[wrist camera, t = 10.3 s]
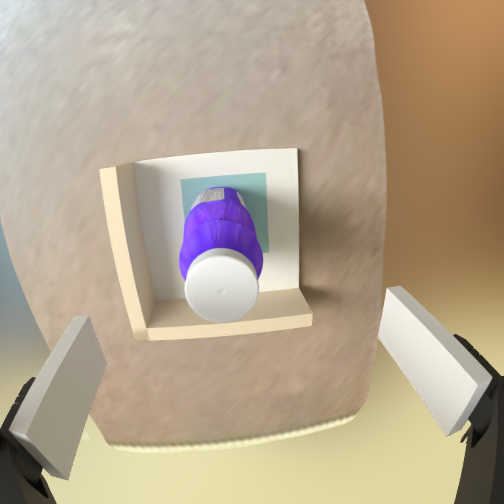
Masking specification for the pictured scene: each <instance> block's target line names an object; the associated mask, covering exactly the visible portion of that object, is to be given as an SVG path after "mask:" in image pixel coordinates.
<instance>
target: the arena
mask: <svg viewBox="0 0 504 504" xmlns="http://www.w3.org/2000/svg"><path fill="white" fill-rule="evenodd" d="M100 177H101V185H102V192H103V199H104V206H105V212H106V218H107V224H108V230H109V235H110V240H111V245H112V250H113V255H114V260H115V264H116V269H117V273H118V277H119V282H120V286H121V290H122V294H123V298H124V301H125V305H126V309H127V312H128V316H129V319H130V323H131V326H132V330H133V333H134V336H135V340H136V341H149V340H172V339H190V338H204V337H217V336H229V335H239V334H249V333H259V332H268V331H276V330H284V329H292V328H299V327H306V326H312V314H313V313H312V311H311V309H310V308H309V306H308V304H307V302H306V300H305V298H304V296H303V295H302V293H301V291H300V289H299V196H298V159H297V148H282V149H257V150H239V151H225V152H213V153H202V154H192V155H183V156H174V157H166V158H158V159H151V160H144V161H137V162H131V163H124V164H120V165H115V166H111V167H107V168H103V169H100ZM213 187H229V188H233V189H234V190H236V191H238V192H239V193H240V194H241V196H242V197H243V199H244V202H245V205H246V208H247V210H248V212H249V213H250V215H251V218H252V220H253V223H254V226H255V230H256V236H257V240H258V242H259V244H260V246H261V249H262V252H263V268H262V272H261V275H260V277H259V279H258V283H259V295H258V299H257V301H256V303H255V305H254V307H253V308H252V309H251V311H249V312H248V313H247V314H246V315H245V316H243V317H242V318H240V319H238V320H235V321H232V322H226V323H219V322H212V321H209V320H206V319H204V318H202V317H200V316H199V315H198V314H196V313H195V312H194V311H193V309H192V308H191V307H190V305H189V304H188V302H187V299H186V295H185V280H184V278H183V277H182V275H181V271H180V268H179V255H180V250H181V246H182V243H183V228H184V223H185V220H186V218H187V216H188V214H189V212H190V210H191V207H192V205H193V203H194V201H195V199H196V197H197V196H198V195H199V194H200V193H201V192H203V191H205V190H207V189H210V188H213Z"/></svg>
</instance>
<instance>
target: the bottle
mask: <svg viewBox="0 0 504 504" xmlns="http://www.w3.org/2000/svg"><path fill="white" fill-rule="evenodd" d="M179 268H180V271H181V275H182V277H183V278H184V280H185V295H186V299H187V302H188V304H189V305H190V307H191V308H192V309H193V311H194V312H195V313H196V314H198V315H199V316H200V317H202V318H204V319H206V320H209V321H212V322H219V323H226V322H232V321H235V320H238V319H240V318H242V317H243V316H245V315H246V314H247V313H248V312H249V311H251V309H252V308H253V307H254V305H255V303H256V301H257V299H258V295H259V283H258V279H259V277H260V275H261V272H262V268H263V252H262V249H261V246H260V244H259V242H258V240H257V236H256V230H255V226H254V223H253V220H252V218H251V215H250V213H249V212H248V210H247V208H246V205H245V202H244V199H243V197H242V196H241V194H240V193H239V192H238V191H236V190H234V189H233V188H229V187H213V188H210V189H207V190H205V191H203V192H201V193H200V194H199V195H198V196H197V197H196V199H195V201H194V203H193V205H192V207H191V210H190V212H189V214H188V216H187V218H186V220H185V223H184V228H183V243H182V246H181V250H180V255H179Z"/></svg>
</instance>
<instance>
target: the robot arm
mask: <svg viewBox="0 0 504 504" xmlns="http://www.w3.org/2000/svg"><path fill="white" fill-rule="evenodd" d="M378 338H379V340H380V341H381V342H382V344H383V345H384V347H385V348H386V349H387V351H388V352H389V353H390V355H391V356H392V358H393V359H394V360H395V362H396V363H397V365H398V366H399V367H400V369H401V370H402V372H403V373H404V374H405V376H406V377H407V379H408V380H409V382H410V383H411V384H412V386H413V387H414V389H415V390H416V392H417V393H418V395H419V396H420V398H421V399H422V401H423V402H424V404H425V405H426V407H427V408H428V410H429V411H430V413H431V414H432V415H433V417H434V418H435V420H436V422H437V423H438V425H439V426H440V428H441V429H442V431H443V432H444V434H445V436H446V437H448V436H449V435H452V434H453V433H455V432H457V431H459V430H461V429H462V428H463V426H464V425H465V423H466V422H467V420H469V421H470V422H471V426H470V427H469V429H468V430H467V431H466V433H465V434H464V436H463V437H462V439H461V443H462V442H463V441H464V440H465V438H466V437H467V436H468V438H467V442H466V443H467V445H466V452H465V457H464V463H463V468H462V473H461V478H460V482H459V486H458V490H457V494H456V499H455V502H454V504H504V376H501V375H500V374H499V373H498V372H497V371H496V370H495V369H494V368H493V367H492V366H491V365H490V364H489V363H488V361H486V360H485V358H484V357H483V356H482V355H479V352H478V351H477V350H476V349H474V348H473V346H472V345H471V344H470V343H469V342H468V341H467V340H466V339H464V338H462V337H460V336H458V335H457V334H454V335H452V334H451V333H450V332H449V331H448V330H447V329H446V328H445V327H444V326H443V325H442V324H441V323H439V321H437V319H435V318H434V317H433V316H432V315H431V314H430V313H429V312H428V311H427V310H426V309H425V308H424V307H423V306H422V305H421V304H420V303H419V302H418V301H417V300H415V299H414V298H413V297H412V296H411V295H410V294H409V293H408V292H407V291H406V290H405V289H403V288H402V287H401V286H396V287H390V288H387V290H386V296H385V302H384V308H383V314H382V318H381V324H380V328H379V333H378ZM106 366H107V362H106V359H105V357H104V355H103V352H102V350H101V347H100V345H99V342H98V339H97V337H96V334H95V331H94V329H93V326H92V323H91V320H90V317H89V316H75V317H74V318H73V319H72V321H71V322H70V324H69V325H68V327H67V328H66V330H65V332H64V333H63V335H62V336H61V338H60V339H59V341H58V342H57V344H56V346H55V347H54V349H53V350H52V352H51V354H50V355H49V357H48V358H47V360H46V362H45V363H44V365H43V367H42V368H41V370H40V372H39V374H38V375H37V377H36V378H34V377H32V378H31V379H30V380H29V381H28V382H27V383H26V384H24V386H23V387H22V389H21V391H20V393H19V394H18V395H19V396H18V397H17V398H16V400H15V404H13V405H12V407H11V409H10V411H9V413H8V415H7V417H6V419H5V420H4V422H3V424H2V426H1V428H0V504H56V501H55V499H54V497H53V495H52V493H51V491H50V489H49V487H48V484H47V482H46V480H45V478H44V477H43V475H42V474H41V472H42V469H43V468H44V469H45V470H46V471H47V472H48V473H49V474H50V475H51V476H54V477H58V478H61V479H65V480H68V479H69V476H70V472H71V468H72V465H73V461H74V458H75V454H76V451H77V448H78V445H79V442H80V439H81V435H82V432H83V429H84V426H85V423H86V420H87V417H88V414H89V411H90V409H91V406H92V403H93V400H94V397H95V395H96V392H97V389H98V387H99V384H100V381H101V379H102V376H103V373H104V371H105V368H106Z"/></svg>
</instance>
